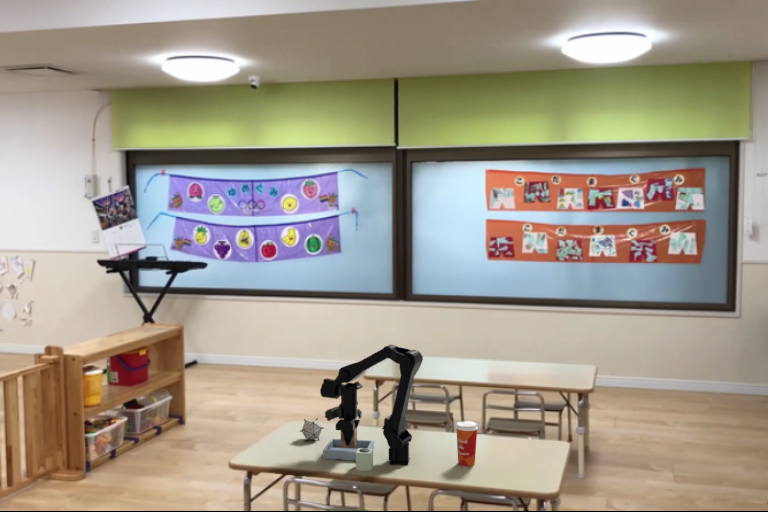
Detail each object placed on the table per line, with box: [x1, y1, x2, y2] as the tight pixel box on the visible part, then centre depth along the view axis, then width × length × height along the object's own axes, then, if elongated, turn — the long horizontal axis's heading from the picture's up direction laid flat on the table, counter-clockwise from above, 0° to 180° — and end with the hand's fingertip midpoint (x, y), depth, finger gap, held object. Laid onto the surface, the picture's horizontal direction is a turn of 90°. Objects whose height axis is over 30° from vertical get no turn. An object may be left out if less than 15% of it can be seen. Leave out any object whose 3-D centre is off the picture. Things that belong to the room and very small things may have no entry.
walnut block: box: [340, 427, 358, 449], centre depth 271 cm, size 5×5×6 cm
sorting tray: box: [322, 438, 375, 462], centre depth 271 cm, size 16×14×3 cm
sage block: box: [355, 448, 374, 472], centre depth 256 cm, size 5×5×6 cm
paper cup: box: [455, 420, 479, 468], centre depth 260 cm, size 8×8×14 cm
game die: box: [299, 417, 325, 442], centre depth 287 cm, size 9×8×10 cm
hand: (349, 443), depth 271 cm, fingers closed on walnut block, 5 cm apart
